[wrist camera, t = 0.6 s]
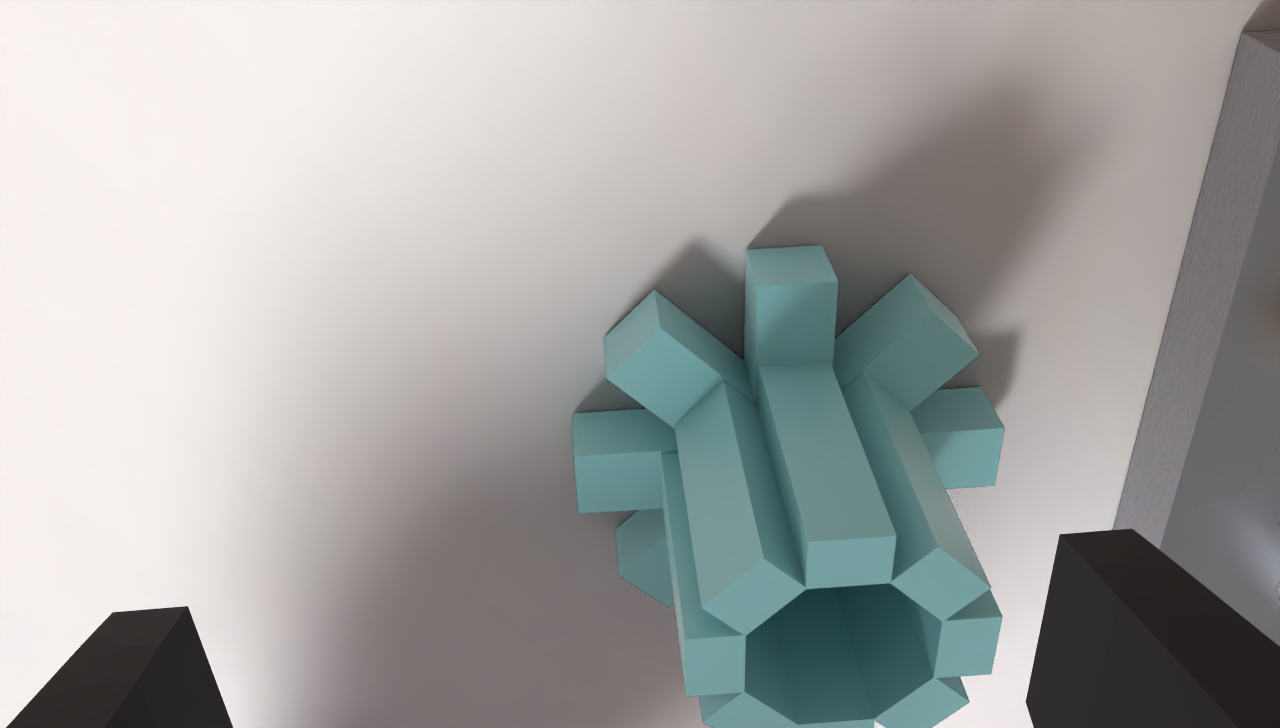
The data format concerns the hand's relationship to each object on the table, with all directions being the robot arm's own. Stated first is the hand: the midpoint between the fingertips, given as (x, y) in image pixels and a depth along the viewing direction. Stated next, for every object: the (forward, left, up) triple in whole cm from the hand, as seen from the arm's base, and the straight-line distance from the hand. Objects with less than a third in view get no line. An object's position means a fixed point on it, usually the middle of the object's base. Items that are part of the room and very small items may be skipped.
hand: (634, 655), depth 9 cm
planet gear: (-4, -3, -9) cm, 10 cm away
